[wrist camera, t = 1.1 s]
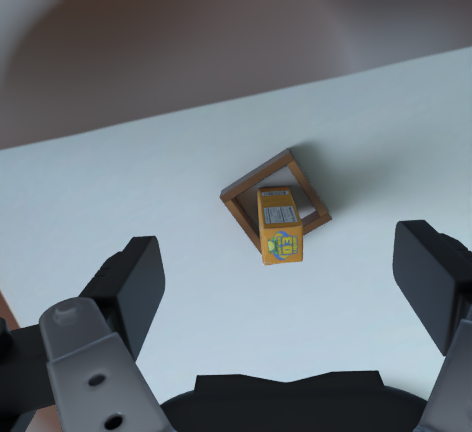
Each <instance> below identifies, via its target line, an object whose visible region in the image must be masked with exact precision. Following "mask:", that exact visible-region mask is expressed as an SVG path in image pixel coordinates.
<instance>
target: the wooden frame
mask: <svg viewBox="0 0 472 432" xmlns="http://www.w3.org/2000/svg"><path fill="white" fill-rule="evenodd" d="M286 164H287V165H288V167H289V168H290V170H291V172H292V173H293V175H294V176H295V178H296V179H297V181H298V182H299V184H300V185H301V187H302V189H303V190H304V192H305V193H306V195H307V196H308V198H309V199H310V201H311V203H312V204H313V206H314V207H315V209H316V210H317V211H315V212H313V213H311V214H310V215H308V216H306V217H305V218H303V219H301V222H302V224H303V235H305V234H307V233H309V232H310V231H312V230H314V229H316V228H318V227H319V226H321V225H323V224H325V223H326V222H328V221H330V220H332V218H331V216H330V213H329V211H328V210H327V208H326V207H325V205H324V203H323V202H322V200H321V199H320V197H319V196H318V194H317V192H316V191H315V189H314V188H313V186H312V185H311V183H310V181H309V180H308V178H307V177H306V175H305V173H304V172H303V170H302V169H301V167H300V166H299V164H298V162H297V161H296V159H295V158H294V156H293V155H292V153H291V151H290V150H289V148H287V149H286V150H284V151H282V152H281V153H279V154H278V155H276V156H275V157H273V158H272V159H270V160H268V161H267V162H265V163H264V164H262V165H261V166H259V167H258V168H256V169H254V170H253V171H251V172H250V173H248V174H247V175H245V176H244V177H242V178H241V179H239V180H237V181H236V182H234V183H233V184H231V185H230V186H228V187H227V188H225V189H223V190H222V191H221V194H220V199H221V200H222V202H223V203H224V204H225V206H226V207H227V208H228V210H229V211H230V212H231V214H232V215H233V216H234V218H235V219H236V221H237V222H238V223H239V225H240V226H241V227H242V229H243V230H244V231H245V233H246V234H247V236H248V237H249V238H250V240H251V241H252V242H253V244H254V245H255V246H256V248H257V249H258V251H259V252H260V253H261V255H262V250H261V241H260V231H259V229H258V228H257V227H256V225H255V224H254V222H253V221H252V220H251V218H250V217H249V216H248V214H247V213H246V211H245V210H244V209H243V207H242V206H241V204H240V203H239V202H238V200H237V199H236V196H237V195H239V194H240V193H242V192H244V191H245V190H247V189H248V188H250V187H251V186H253V185H255V184H256V183H258V182H259V181H261V180H263V179H264V178H266V177H267V176H269V175H271V174H272V173H274V172H275V171H277V170H278V169H280V168H282V167H283V166H285V165H286Z"/></svg>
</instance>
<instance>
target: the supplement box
mask: <svg viewBox="0 0 472 432" xmlns="http://www.w3.org/2000/svg"><path fill="white" fill-rule="evenodd" d="M258 214H259V229H260V241H261V250H262V259H263V264H264V265H271V264H278V263H287V262H301V261H302V260H303V224H302V222H301V219H300V216H299V214H298V211H297V208H296V206H295V203H294V200H293V197H292V195H291V192H290V189H289V187H274V188H259V189H258Z"/></svg>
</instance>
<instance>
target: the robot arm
mask: <svg viewBox="0 0 472 432" xmlns="http://www.w3.org/2000/svg"><path fill="white" fill-rule="evenodd" d="M393 274H394V278H395V281H396V283H397V285H398V286H399V288H400V289H401V291H402V292H403V294H404V296H405V297H406V299H407V300H408V302H409V303H410V305H411V307H412V308H413V310H414V311H415V313H416V314H417V316H418V317H419V319H420V321H421V322H422V324H423V325H424V327H425V328H426V330H427V332H428V333H429V335H430V336H431V338H432V339H433V341H434V343H435V344H436V346H437V347H438V349H439V350H440V352H441V353H442V355H443V356H446V358H445V360H444V363H443V365H442V368H441V370H440V373H439V375H438V378H437V380H436V383H435V385H434V388H433V390H432V393H431V395H430V397H429V400H428V401H426V400H424V399H422V398H420V397H418V396H416V395H414V394H411V393H409V392H406V391H403V390H400V389H396V388H393V387H389V386H384V384H383V381H382V379H381V376H380V374H379V371H342V372H329V373H325V374H321V375H317V376H313V377H309V378H305V379H301V380H297V381H293V382H278V381H273V380H268V379H262V378H257V377H252V376H247V375H241V374H232V375H197V378H196V383H195V388H194V390H192V391H189V392H186V393H183V394H180V395H178V396H175V397H173V398H171V399H169V400H167V401H166V402H164V403H162V404H161V405H159V403H158V402H157V400H156V398H155V396H154V395H153V393H152V391H151V389H150V388H149V386H148V384H147V382H146V381H145V379H144V377H143V375H142V374H141V372H140V370H139V368H138V367H137V365H136V363H135V362H136V360H137V358H138V355H139V353H140V350H141V348H142V345H143V343H144V340H145V338H146V336H147V333H148V331H149V328H150V326H151V323H152V321H153V318H154V316H155V314H156V311H157V309H158V306H159V304H160V301H161V299H162V297H163V294H164V291H165V274H164V269H163V264H162V259H161V254H160V249H159V244H158V240H157V238H156V236H143V237H133V238H132V239H131V240H130V242H129V243H128V244H127V246H126V247H125V248H124V250H123V251H122V252H117V253H116V254H114V255H113V256H111V257H110V258H108V259H107V260H106V261H105V263H104V264H103V265H102V266H101V268H100V270H98V272H97V273H96V274H95V275H94V276H95V277H93V278H92V279H91V281H90V282H89V283H88V284H87V286H86V287H85V288H84V290H83V291H82V292H81V293H80V295H79V296H78V297H75V298H70V299H67V300H64V301H61V302H59V303H57V304H55V305H53V306H52V307H50V308H49V309H47V310H46V311H45V312H44V313H43V314H42V315H41V317H40V319H39V324H37V325H33V326H29V327H25V328H20V329H16V330H13V331H9V328H8V326H7V324H6V321H5V320H4V319H3V318H1V317H0V432H25V431H26V429H27V427H28V425H29V424H30V422H31V420H32V418H33V417H34V415H35V413H36V411H37V409H41V408H44V407H48V406H51V405H55V404H56V408H57V412H58V416H59V420H60V424H61V428H62V432H472V252H471V251H468V248H466V247H465V246H464V245H463V244H462V243H461V242H459V241H458V240H456V239H454V238H452V237H450V236H448V235H445V234H443V233H438V232H437V231H436V230H435V229H434V228H433V227H432V226H430V225H429V224H428V223H427V222H426V221H425V220H409V221H399V222H398V223H397V225H396V229H395V241H394V253H393Z"/></svg>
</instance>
